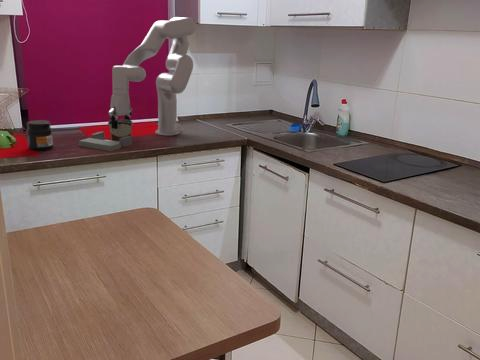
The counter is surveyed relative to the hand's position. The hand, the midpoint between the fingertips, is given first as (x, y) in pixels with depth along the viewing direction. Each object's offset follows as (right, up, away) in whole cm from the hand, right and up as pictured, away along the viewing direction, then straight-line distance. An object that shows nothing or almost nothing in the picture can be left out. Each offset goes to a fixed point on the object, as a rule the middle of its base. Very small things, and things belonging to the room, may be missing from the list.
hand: (120, 127), depth 233 cm
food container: (0, -6, +3) cm, 7 cm away
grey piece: (-5, -10, -9) cm, 14 cm away
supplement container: (-31, -12, -19) cm, 38 cm away
